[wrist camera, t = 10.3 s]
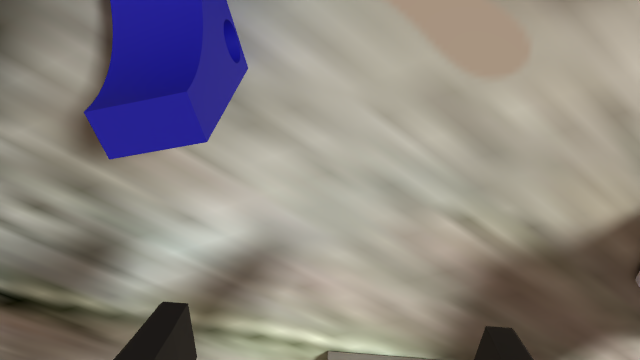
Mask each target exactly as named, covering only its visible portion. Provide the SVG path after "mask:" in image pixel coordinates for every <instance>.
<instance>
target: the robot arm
mask: <svg viewBox="0 0 640 360" xmlns="http://www.w3.org/2000/svg"><path fill="white" fill-rule="evenodd" d="M636 283H637V284H638V286H639V287H640V271H639V273H638V275H637V277H636ZM196 358H197V354H196V348H195V342H194V336H193V331H192V325H191V319H190V313H189V307H188V304H186V303H173V302H162V303H161V304H160V305H159V306H158V307H157V308H156V310H155V311H154V312H153V313H152V315H151V316H150V317H149V318H148V319H147V321H146V322H145V323H144V324H143V326H142V327H141V328H140V329H139V330H138V332H137V333H136V334H135V335H134V336H133V338H132V339H131V340H130V341H129V342H128V343H127V345H126V346H125V347H124V348H123V349H122V350H121V352H120V353H119V354H118V355H117V356H116V357H115V358H114V359H113V360H196ZM474 360H534V359H533V358H532V356H531V355H530V354H529V352H528V351H527V349H526V348H525V346H524V345H523V343H522V342H521V340H520V339H519V337H518V336H517V334H516V333H515V331H514V330H513V329H512V328H502V327H489V326H486V327H485V330H484V333H483V336H482V339H481V342H480V344H479V347H478V350H477V353H476V356H475V359H474Z"/></svg>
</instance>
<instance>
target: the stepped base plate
mask: <svg viewBox="0 0 640 360" xmlns="http://www.w3.org/2000/svg"><path fill="white" fill-rule="evenodd" d="M327 360H433V359H420V358H408V357H395V356H382V355H370V354H357V353H344V352H331V351H328V359H327Z"/></svg>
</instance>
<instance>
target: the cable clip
mask: <svg viewBox="0 0 640 360" xmlns="http://www.w3.org/2000/svg"><path fill="white" fill-rule="evenodd" d="M110 2H111V10H112V21H113V44H112V54H111V61H110V66H109V70H108V74H107V76H106V79H105V82H104V85H103V87H102V89H101V90H100V92H99V94H98V96H97V97H96V99H95V100H94V102H93V103H92V104H91V105H90V106H89V107H88V108H87V109H86V110H85V111H84V114H85V115H86V117H87V119H88V121H89V123H90V125H91V127H92V128H93V130H94V132H95V134H96V136H97V138H98V139H99V141H100V143H101V145H102V147H103V149H104V151H105V152H106V154H107V156H108V158H109V159H114V158H120V157H126V156H131V155H137V154H142V153H148V152H154V151H159V150H165V149H170V148H176V147H182V146H187V145H193V144H198V143H204V142H207V141H208V139H209V137H210V136H211V134H212V132H213V130H214V128H215V127H216V125H217V123H218V121H219V119H220V118H221V116H222V114H223V112H224V110H225V109H226V107H227V105H228V103H229V102H230V100H231V98H232V96H233V94H234V93H235V91H236V89H237V87H238V85H239V84H240V82H241V80H242V78H243V76H244V75H245V73H246V71H247V69H248V66H247V63H246V60H245V57H244V54H243V51H242V48H241V45H240V41H239V38H238V35H237V32H236V29H235V26H234V23H233V19H232V16H231V13H230V10H229V7H228V4H227V1H226V0H110Z"/></svg>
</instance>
